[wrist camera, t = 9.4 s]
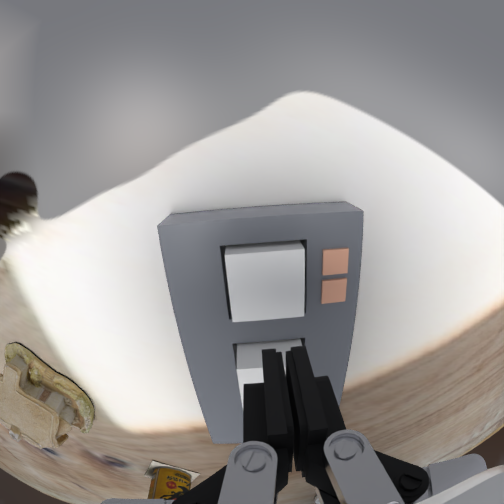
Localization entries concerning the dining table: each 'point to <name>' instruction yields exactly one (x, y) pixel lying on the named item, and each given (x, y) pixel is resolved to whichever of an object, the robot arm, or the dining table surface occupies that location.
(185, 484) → the condiment
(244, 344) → the key
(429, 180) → the dining table surface
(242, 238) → the keypad
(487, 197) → the dining table surface
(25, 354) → the ceramic model
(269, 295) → the key
